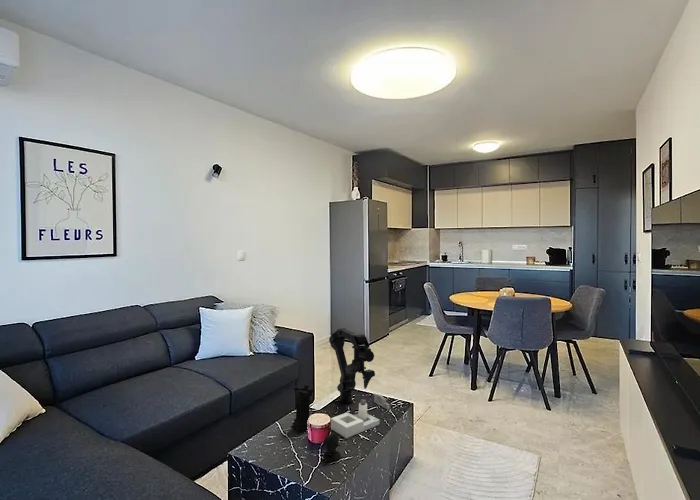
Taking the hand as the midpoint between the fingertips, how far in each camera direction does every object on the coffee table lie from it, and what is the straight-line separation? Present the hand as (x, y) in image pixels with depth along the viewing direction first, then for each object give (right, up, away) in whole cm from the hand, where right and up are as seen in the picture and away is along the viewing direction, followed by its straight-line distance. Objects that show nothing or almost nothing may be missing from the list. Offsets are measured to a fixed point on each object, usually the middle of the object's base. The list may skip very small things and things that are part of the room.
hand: (359, 386), depth 210 cm
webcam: (-13, -14, -46) cm, 50 cm away
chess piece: (-28, -13, -22) cm, 38 cm away
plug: (+1, -13, -15) cm, 20 cm away
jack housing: (-2, -13, -18) cm, 23 cm away
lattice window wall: (+13, -14, +7) cm, 20 cm away
